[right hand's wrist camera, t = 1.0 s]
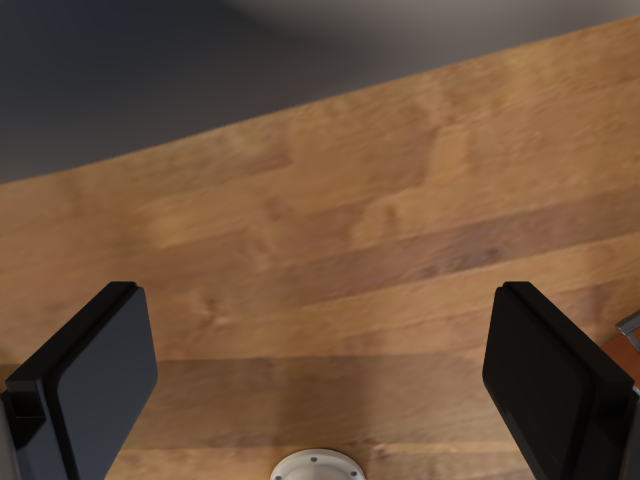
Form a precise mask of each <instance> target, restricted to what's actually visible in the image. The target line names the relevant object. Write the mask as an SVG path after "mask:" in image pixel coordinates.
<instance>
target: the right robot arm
mask: <svg viewBox="0 0 640 480" xmlns="http://www.w3.org/2000/svg"><path fill="white" fill-rule="evenodd" d="M157 377H158V371H157V365H156V358H155V352H154V346H153V340H152V334H151V328H150V322H149V316H148V309H147V303H146V297H145V292H144V289H143V288H142V287H138V286H137V284H136V283H135V282H110V283H109V284H108V285H107V286H106V287H104V288H103V289H102V290H101V291H100V292H99V293H98V294H97V295H96V296H95V297H94V298H93V299H92V300H91V301H90V302H88V303H87V304H86V305H85V306H84V307H83V308H82V309H81V310H80V311H79V312H78V313H77V314H76V315H75V316H74V317H72V318H71V319H70V320H69V321H68V322H67V323H66V324H65V325H64V326H63V327H62V328H61V329H60V330H59V331H57V332H56V333H55V334H54V335H53V336H52V337H51V338H50V339H49V340H48V341H47V342H46V343H45V344H44V345H43V346H41V347H40V348H39V349H38V350H37V351H36V352H35V353H34V354H33V355H32V356H31V357H30V358H29V359H28V360H27V361H25V362H24V363H23V364H22V365H21V366H20V367H19V368H18V369H17V370H16V371H15V372H14V373H13V374H12V375H11V376H9V377H8V378H7V379H6V380H5V383H6V386H7V390H6V391H5V392H4V393H3V394H2V395H1V396H0V480H104V478H105V476H106V475H107V473H108V471H109V469H110V467H111V465H112V464H113V462H114V460H115V458H116V456H117V454H118V453H119V451H120V449H121V447H122V445H123V444H124V442H125V440H126V438H127V436H128V434H129V433H130V431H131V429H132V427H133V425H134V424H135V422H136V420H137V418H138V416H139V414H140V413H141V411H142V409H143V407H144V405H145V403H146V402H147V400H148V398H149V396H150V394H151V393H152V391H153V389H154V387H155V385H156V382H157ZM482 377H483V382H484V385H485V387H486V389H487V391H488V393H489V394H490V396H491V398H492V400H493V402H494V403H495V405H496V407H497V409H498V411H499V413H500V414H501V416H502V418H503V420H504V422H505V424H506V425H507V427H508V429H509V431H510V433H511V434H512V436H513V438H514V440H515V442H516V444H517V445H518V447H519V449H520V451H521V453H522V454H523V456H524V458H525V460H526V462H527V464H528V465H529V467H530V469H531V471H532V473H533V475H534V476H535V478H536V480H640V396H639V395H638V394H637V393H636V392H635V391H634V390H633V386H634V383H635V380H634V379H633V378H632V377H631V376H629V375H628V374H627V373H626V372H625V371H624V370H623V369H622V368H621V367H620V366H619V365H618V364H617V363H616V362H615V361H613V360H612V359H611V358H610V357H609V356H608V355H607V354H606V353H605V352H604V351H603V350H602V349H601V348H600V347H599V346H597V345H596V344H595V343H594V342H593V341H592V340H591V339H590V338H589V337H588V336H587V335H586V334H585V333H584V332H583V331H581V330H580V329H579V328H578V327H577V326H576V325H575V324H574V323H573V322H572V321H571V320H570V319H569V318H568V317H566V316H565V315H564V314H563V313H562V312H561V311H560V310H559V309H558V308H557V307H556V306H555V305H554V304H553V303H552V302H550V301H549V300H548V299H547V298H546V297H545V296H544V295H543V294H542V293H541V292H540V291H539V290H538V289H537V288H536V287H534V286H533V285H532V284H531V283H530V282H505V283H504V284H503V286H502V287H498V288H497V289H496V292H495V297H494V303H493V309H492V315H491V322H490V328H489V334H488V340H487V346H486V352H485V358H484V365H483V371H482ZM270 480H366V479H365V476H364V473H363V471H362V470H361V468H360V466H359V465H358V464H357V463H356V462H355V461H354V460H352V459H351V458H349V457H348V456H346V455H344V454H342V453H339V452H336V451H332V450H327V449H308V450H302V451H299V452H296V453H293V454H291V455H290V456H288V457H286V458H284V459H283V460H282V461H281V462H279V464H278V465H277V466H276V467H275V468H274V470H273V472H272V474H271V477H270Z"/></svg>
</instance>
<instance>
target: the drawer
mask: <svg viewBox="0 0 640 480" xmlns="http://www.w3.org/2000/svg"><path fill="white" fill-rule="evenodd" d="M615 327H616V328H617V329H618V331H619V332H620V333H621V335H619V336H618V337H616V338H614V339H613V340H611V341H609V342H608V343H606V344H604V345H603V346H601V347H600V348H601V349H602V350H603V351H604V352H605V353H606V354H607V355H608V356H609V357H610V358H611V359H612V360H613V361H615V362H616V363H617V364H618V365H619V366H620V367H621V368H622V369H623V370H624V371H625V372H626V373H627V374H628V375H629V376H631V377H632V378H633V379H634V380H635V383H634V386H633V387H634V388H635V389H636V390H637V391H638V392H639V393H640V309H639V310H638V311H636V312H634V313H633V314H631V315H630V316H628V317H626V318H625V319H623V320H622V321H620V322H618V323H617V324H615Z"/></svg>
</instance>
